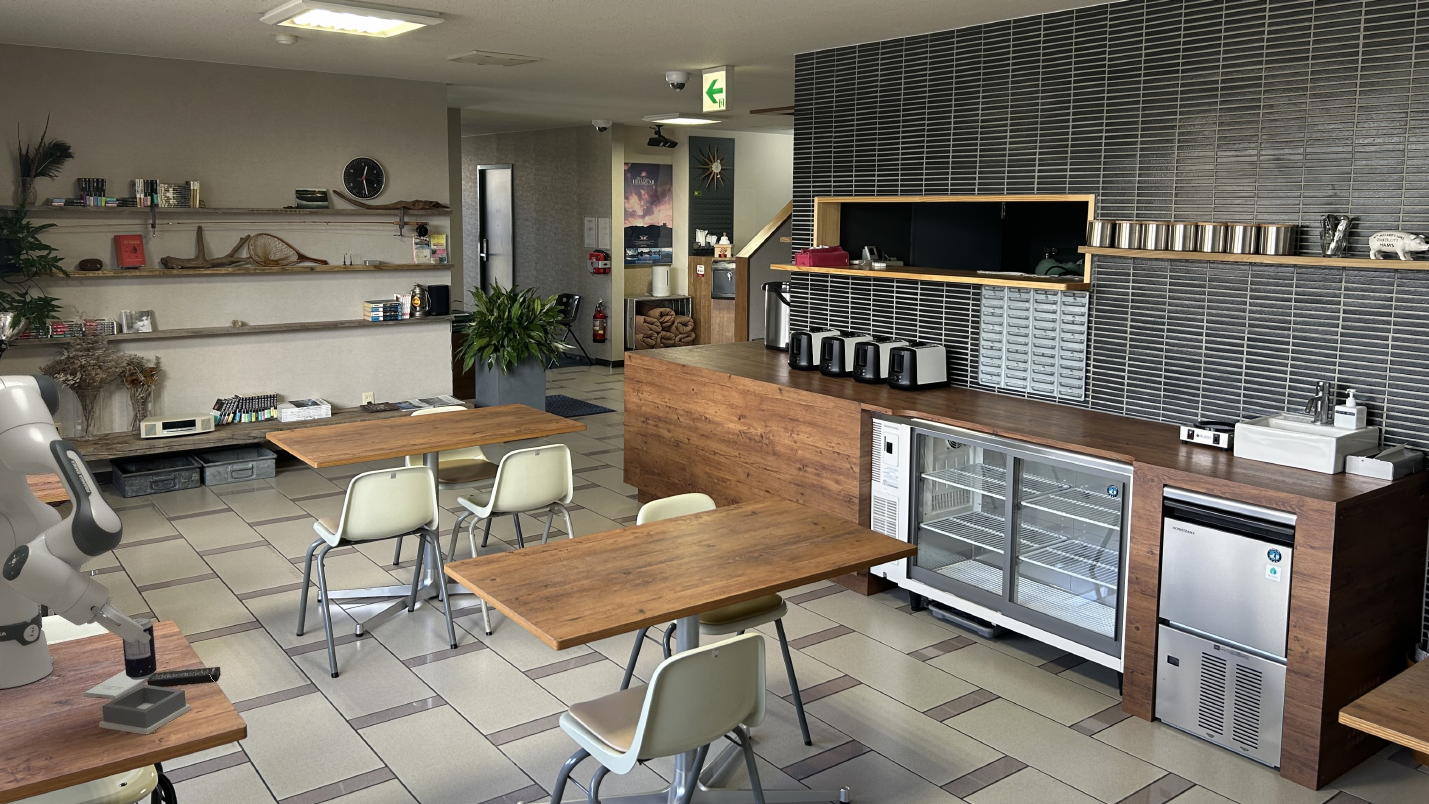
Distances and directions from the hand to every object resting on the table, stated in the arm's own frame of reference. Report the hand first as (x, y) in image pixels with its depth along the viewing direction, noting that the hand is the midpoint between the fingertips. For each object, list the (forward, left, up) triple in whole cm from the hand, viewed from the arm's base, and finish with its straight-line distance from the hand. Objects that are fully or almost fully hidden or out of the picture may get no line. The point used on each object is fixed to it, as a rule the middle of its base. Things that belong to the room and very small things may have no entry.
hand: (141, 635), depth 218 cm
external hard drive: (-18, +11, -19) cm, 28 cm away
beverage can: (0, -1, -9) cm, 9 cm away
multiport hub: (-6, +17, -19) cm, 26 cm away
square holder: (0, -1, -18) cm, 18 cm away
